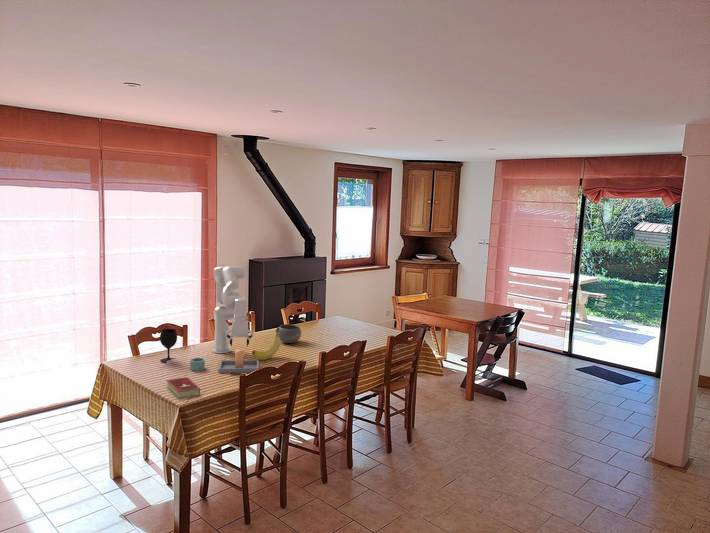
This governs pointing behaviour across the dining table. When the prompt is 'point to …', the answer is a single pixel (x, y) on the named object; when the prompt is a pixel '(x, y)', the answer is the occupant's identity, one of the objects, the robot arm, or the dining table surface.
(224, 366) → the tray
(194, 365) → the cup
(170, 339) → the wine glass
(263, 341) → the dining table surface
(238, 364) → the peg
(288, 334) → the bowl
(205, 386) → the dining table surface
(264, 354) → the banana
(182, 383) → the hardcover book
